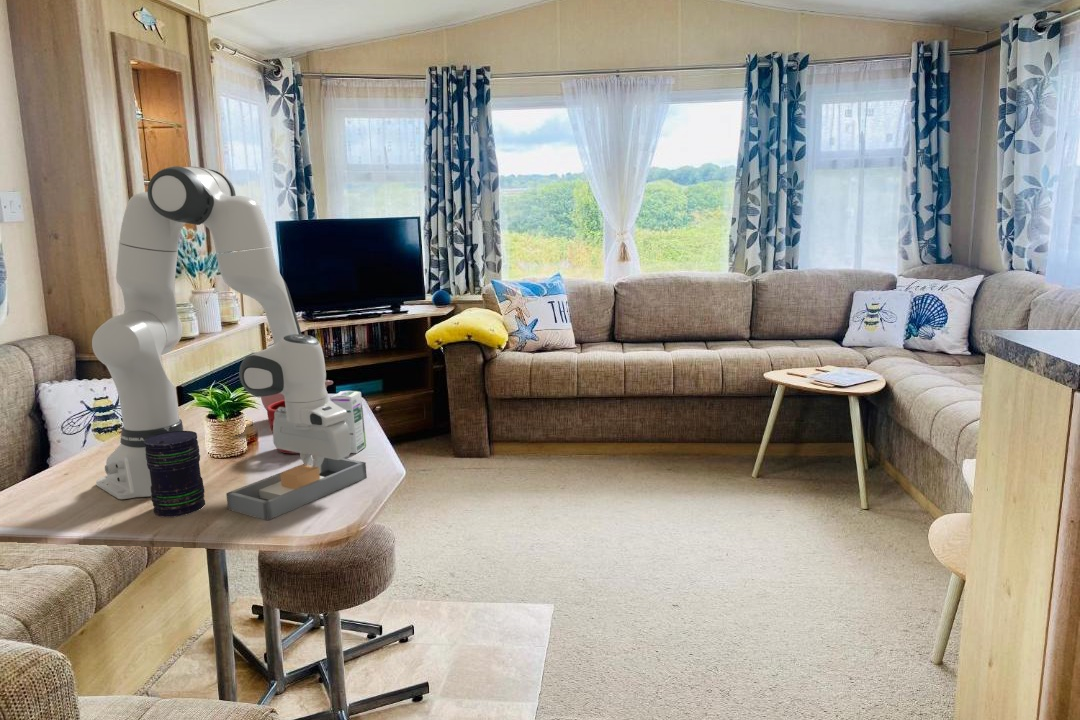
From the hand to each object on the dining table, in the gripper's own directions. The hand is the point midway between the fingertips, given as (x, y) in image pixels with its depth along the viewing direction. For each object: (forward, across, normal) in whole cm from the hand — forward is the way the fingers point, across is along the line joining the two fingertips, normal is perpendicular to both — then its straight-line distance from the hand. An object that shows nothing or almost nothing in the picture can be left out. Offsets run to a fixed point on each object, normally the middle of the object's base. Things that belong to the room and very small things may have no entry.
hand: (313, 472), depth 170 cm
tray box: (+3, 0, -4) cm, 5 cm away
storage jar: (+3, -16, -21) cm, 27 cm away
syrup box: (+3, -12, +23) cm, 26 cm away
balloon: (+3, -46, +38) cm, 60 cm away
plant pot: (+3, -25, +18) cm, 31 cm away
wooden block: (+1, 0, -4) cm, 4 cm away
